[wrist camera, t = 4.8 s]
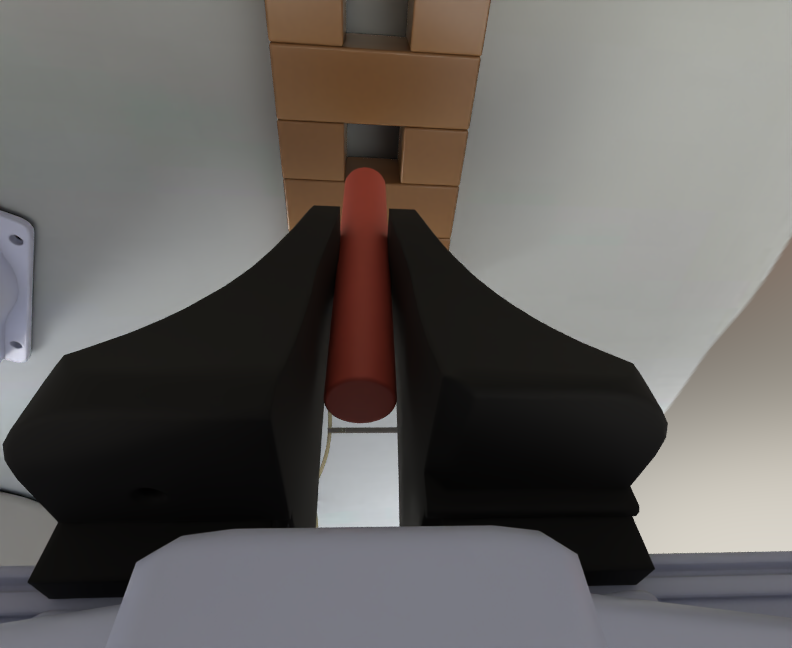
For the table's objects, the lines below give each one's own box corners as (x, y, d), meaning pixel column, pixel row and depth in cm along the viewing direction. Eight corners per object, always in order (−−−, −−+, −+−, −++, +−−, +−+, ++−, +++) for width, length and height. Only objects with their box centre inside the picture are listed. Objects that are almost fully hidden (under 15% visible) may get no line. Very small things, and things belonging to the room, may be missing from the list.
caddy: (432, 286, 23) (437, 318, 21) (302, 283, 22) (297, 314, 20) (495, -132, 13) (515, -141, 11) (264, -156, 12) (246, -168, 10)
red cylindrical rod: (374, 211, 14) (376, 432, 8) (338, 194, 13) (312, 413, 7) (392, 178, 13) (410, 392, 7) (355, 159, 13) (341, 369, 7)
